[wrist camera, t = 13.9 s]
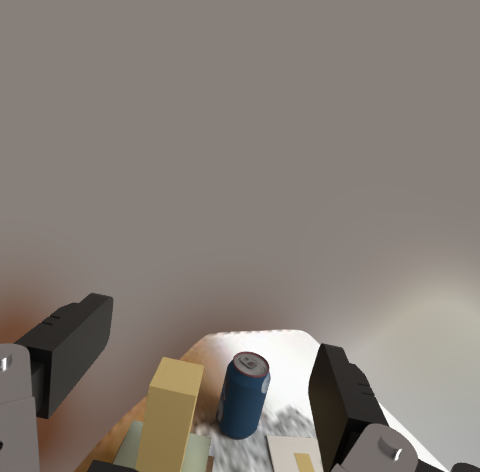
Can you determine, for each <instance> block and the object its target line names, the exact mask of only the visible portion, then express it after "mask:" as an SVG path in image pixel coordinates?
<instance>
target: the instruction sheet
mask: <svg viewBox="0 0 480 472" xmlns="http://www.w3.org/2000/svg"><path fill="white" fill-rule="evenodd" d="M266 437H267V442H268V446H269V451H270V456H271V460H272V465H273V469H274V472H324V471H323V466H322V461H321V456H320V451H319V446H318V441H317V439H313V438H300V437H286V436H272V435H267V436H266Z"/></svg>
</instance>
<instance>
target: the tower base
mask: <svg viewBox="0 0 480 472" xmlns="http://www.w3.org/2000/svg"><path fill="white" fill-rule="evenodd" d="M142 427H143V422H139V421H135V420H133V422H132V424H131V426H130V428H129V430H128V432H127V434H126V436H125V438H124V440H123V442H122V444H121V446H120V448H119V450H118V452H117V454H116V456H115V459H114V461H113V463H112V464H116V465H120V466H125V467H129V468H133V469H135V468H136V462H137V456H138V450H139V444H140V438H141V433H142ZM210 442H211V438H210V437H206V436H201V435H197V434H193V433H190V434H189V438H188V443H187V447H186V452H185V456H184V460H183V464H182V468H181V472H212V467H213V461H214V457H212V456H208V454H209V448H210Z"/></svg>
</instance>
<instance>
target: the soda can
mask: <svg viewBox="0 0 480 472" xmlns="http://www.w3.org/2000/svg"><path fill="white" fill-rule="evenodd" d="M269 383H270V373H269V364H268V362H267V361H266V360H265V359H264V358H263V357H262V356H260V355H258V354H256V353H253V352H240V353H238V354H236V355H235V356H234V358H233V360H232V361H231V362H230V363H229V365H228V367H227V371H226V376H225V380H224V384H223V388H222V392H221V396H220V401H219V405H218V409H217V413H216V419H217V423H218V425H219V427H220V429H221V431H222V432H223V433H224V434H225V435H226V436H228V437H229V438H232V439H236V440H241V439H245V438H247V437H248V436H250V435H251V434H253V433H254V432H255V430H256V429H257V426H258V423H259V419H260V415H261V412H262V408H263V404H264V401H265V397H266V394H267V390H268V386H269Z"/></svg>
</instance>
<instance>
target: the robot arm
mask: <svg viewBox="0 0 480 472" xmlns="http://www.w3.org/2000/svg"><path fill="white" fill-rule="evenodd" d="M112 310H113V298H112V297H110V296H105V295H101V294H95V293H91V294H89V295H88V296H87V297H86V298H85V299H83V300H82V301H81V302H80V303H71V304H68V305H66V306H64V307H61V308H59V309H58V310H56V311H55V312H54V313H52V314H51V315H50V317H47V318H46V319H45V320H43V321H42V323H40V324H38V325H37V326H36V327H34V328H33V329H32V330H30V331H29V332H28V333H26V334H25V335H24V336H23V337H21V338H20V339H19V340H17V341H16V342H15V343H13V344H0V472H40V465H39V452H38V437H37V423H36V417H40V418H44V419H49V418H50V416H51V415H52V414H53V413H54V411H55V410H56V409H57V408H58V406H59V405H60V404H61V403H62V401H63V400H64V399H65V398H66V396H67V395H68V394H69V393H70V391H71V390H72V389H73V387H74V386H75V385H76V384H77V383H78V381H79V380H80V379H81V378H82V376H83V375H84V374H85V373H86V371H87V370H88V369H89V368H90V366H91V365H92V364H93V363H94V361H95V360H96V359H97V358H98V356H99V355H100V354H101V352H102V351H103V350H104V348H105V346H106V344H107V342H108V339H109V335H110V327H111V318H112ZM308 395H309V400H310V405H311V410H312V415H313V421H314V426H315V431H316V436H317V441H318V446H319V451H320V456H321V461H322V466H323V471H324V472H444V471H442V470H440V469H438V468H436V467H434V466H431V465H429V464H427V463H425V462H423V461H421V460H420V459H418V456H417V453H416V451H415V449H414V447H413V446H412V444H411V443H410V442H409V441H408V440H407V439H406V438H405V437H404V436H403V435H402V434H400V433H399V432H397V431H396V430H394V429H392V428H390V427H389V425H388V423H387V420H386V418H385V416H384V414H383V412H382V410H381V408H380V406H379V403H378V401H377V399H376V398H375V397H374V393H373V391H372V389H371V388H370V384H369V382H368V380H367V378H366V376H365V374H364V373H362V371H361V370H360V369H359V368H358V367H357V366H356V365H355V364H351V363H349V361H348V359H347V357H346V355H345V352H344V350H343V348H342V347H337V346H332V345H328V344H323V343H322V344H321V345H320V347H319V350H318V353H317V356H316V360H315V363H314V366H313V369H312V373H311V376H310V380H309V387H308ZM87 472H139V471H137V470H135V469H133V468H129V467H125V466H120V465H116V464H111V463H107V462H102V461H98V460H93V462H92V463H91V465H90V467H89V469H88V471H87ZM451 472H480V468H478V467H476V466H473V465H470V464H467V463H457V464H455V465H454V466H453V467H452V470H451Z"/></svg>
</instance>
